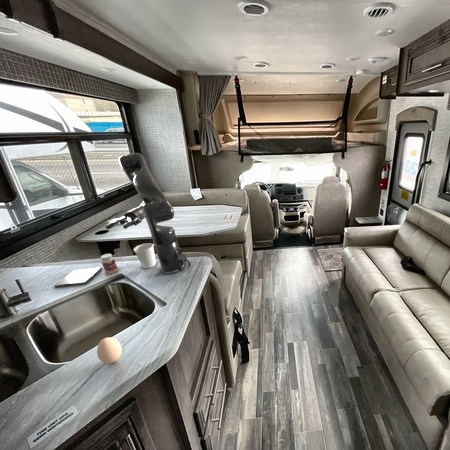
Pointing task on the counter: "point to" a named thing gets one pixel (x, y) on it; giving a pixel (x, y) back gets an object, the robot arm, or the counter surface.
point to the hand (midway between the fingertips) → (115, 227)
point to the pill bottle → (108, 263)
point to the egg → (109, 350)
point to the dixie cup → (146, 255)
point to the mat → (78, 277)
